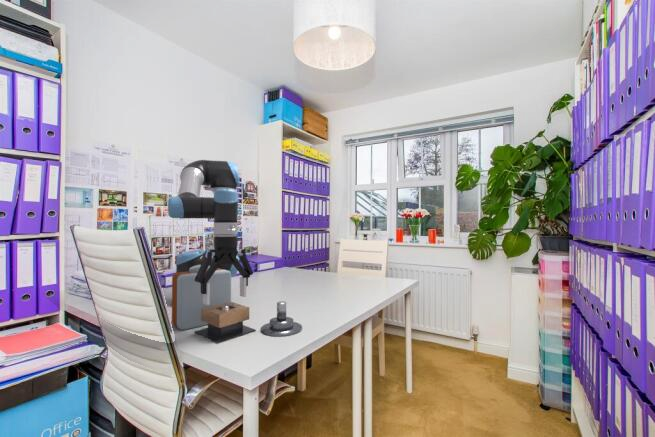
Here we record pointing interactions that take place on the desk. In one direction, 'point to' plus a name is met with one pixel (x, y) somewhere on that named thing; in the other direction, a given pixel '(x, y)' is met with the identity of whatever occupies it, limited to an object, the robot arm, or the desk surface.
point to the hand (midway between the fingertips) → (225, 300)
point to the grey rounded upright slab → (197, 296)
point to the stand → (224, 331)
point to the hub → (281, 323)
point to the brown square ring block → (224, 314)
